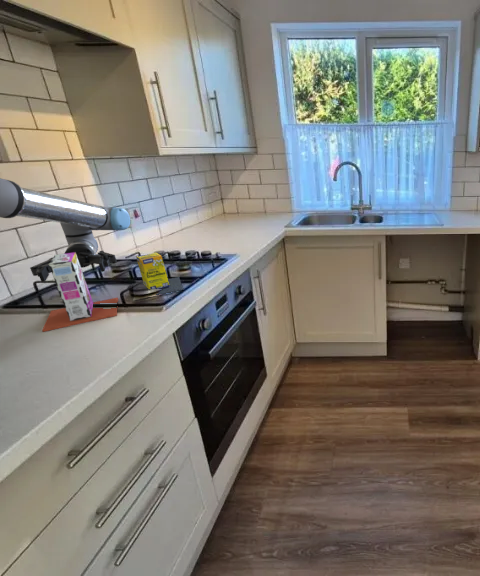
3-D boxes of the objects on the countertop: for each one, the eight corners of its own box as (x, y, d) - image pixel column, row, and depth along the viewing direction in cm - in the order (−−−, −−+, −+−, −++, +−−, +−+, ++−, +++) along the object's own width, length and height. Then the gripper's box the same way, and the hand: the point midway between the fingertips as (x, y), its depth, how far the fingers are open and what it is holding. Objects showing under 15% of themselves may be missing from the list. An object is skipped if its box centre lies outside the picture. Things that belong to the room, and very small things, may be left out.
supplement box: (150, 292, 116) (140, 259, 112) (144, 287, 120) (135, 256, 115) (170, 286, 120) (162, 255, 116) (164, 282, 124) (155, 251, 119)
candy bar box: (93, 317, 100) (72, 260, 94) (70, 322, 98) (47, 264, 91) (95, 303, 109) (76, 251, 102) (74, 307, 106) (53, 254, 100)
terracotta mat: (42, 332, 94) (41, 330, 94) (51, 312, 105) (51, 310, 105) (116, 315, 102) (116, 313, 102) (118, 299, 113) (117, 297, 113)
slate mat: (133, 301, 111) (132, 299, 111) (133, 287, 122) (132, 285, 122) (183, 290, 118) (183, 289, 118) (179, 278, 129) (178, 276, 129)
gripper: (128, 257, 127) (128, 275, 111) (35, 272, 115) (19, 294, 99) (122, 237, 125) (120, 251, 108) (26, 249, 112) (7, 268, 96)
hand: (72, 272), depth 103 cm, fingers open, 13 cm apart
